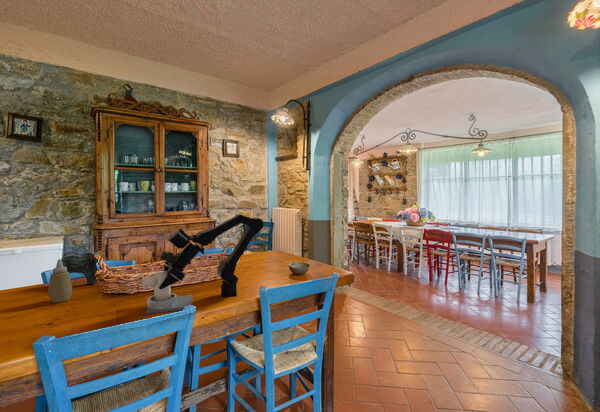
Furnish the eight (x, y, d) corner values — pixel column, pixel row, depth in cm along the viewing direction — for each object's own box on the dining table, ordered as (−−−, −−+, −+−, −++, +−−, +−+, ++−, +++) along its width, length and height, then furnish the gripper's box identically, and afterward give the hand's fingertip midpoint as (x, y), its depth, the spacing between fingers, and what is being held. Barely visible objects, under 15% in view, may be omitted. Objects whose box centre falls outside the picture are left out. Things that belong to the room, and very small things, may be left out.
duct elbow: (168, 300, 120) (167, 270, 119) (172, 304, 115) (172, 272, 115) (141, 306, 113) (141, 274, 112) (145, 311, 108) (145, 277, 108)
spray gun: (102, 282, 148) (101, 244, 147) (94, 286, 142) (93, 247, 141) (63, 283, 147) (62, 245, 146) (53, 287, 141) (52, 247, 140)
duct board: (192, 297, 126) (192, 288, 126) (189, 309, 113) (189, 299, 113) (152, 301, 122) (152, 291, 122) (144, 314, 108) (144, 303, 108)
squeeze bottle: (76, 298, 124) (75, 258, 124) (54, 305, 117) (53, 262, 116) (66, 296, 128) (65, 257, 127) (44, 302, 120) (43, 260, 120)
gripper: (169, 240, 124) (141, 268, 119) (175, 247, 108) (143, 279, 103) (188, 256, 129) (162, 283, 123) (196, 264, 113) (167, 296, 107)
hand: (158, 285), depth 114 cm, fingers open, 9 cm apart
